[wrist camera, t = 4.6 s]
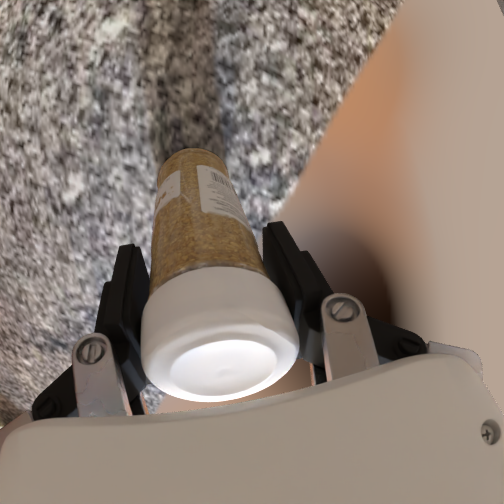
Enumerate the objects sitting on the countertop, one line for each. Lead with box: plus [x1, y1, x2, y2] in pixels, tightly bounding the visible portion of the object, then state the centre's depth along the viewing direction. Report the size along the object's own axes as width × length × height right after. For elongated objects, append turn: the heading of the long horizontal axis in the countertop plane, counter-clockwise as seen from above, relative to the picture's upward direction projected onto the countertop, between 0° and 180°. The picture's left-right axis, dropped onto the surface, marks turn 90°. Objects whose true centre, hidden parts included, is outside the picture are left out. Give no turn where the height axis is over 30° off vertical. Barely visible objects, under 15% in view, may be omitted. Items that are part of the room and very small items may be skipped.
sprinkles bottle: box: [141, 148, 300, 402], centre depth 13 cm, size 5×5×14 cm
